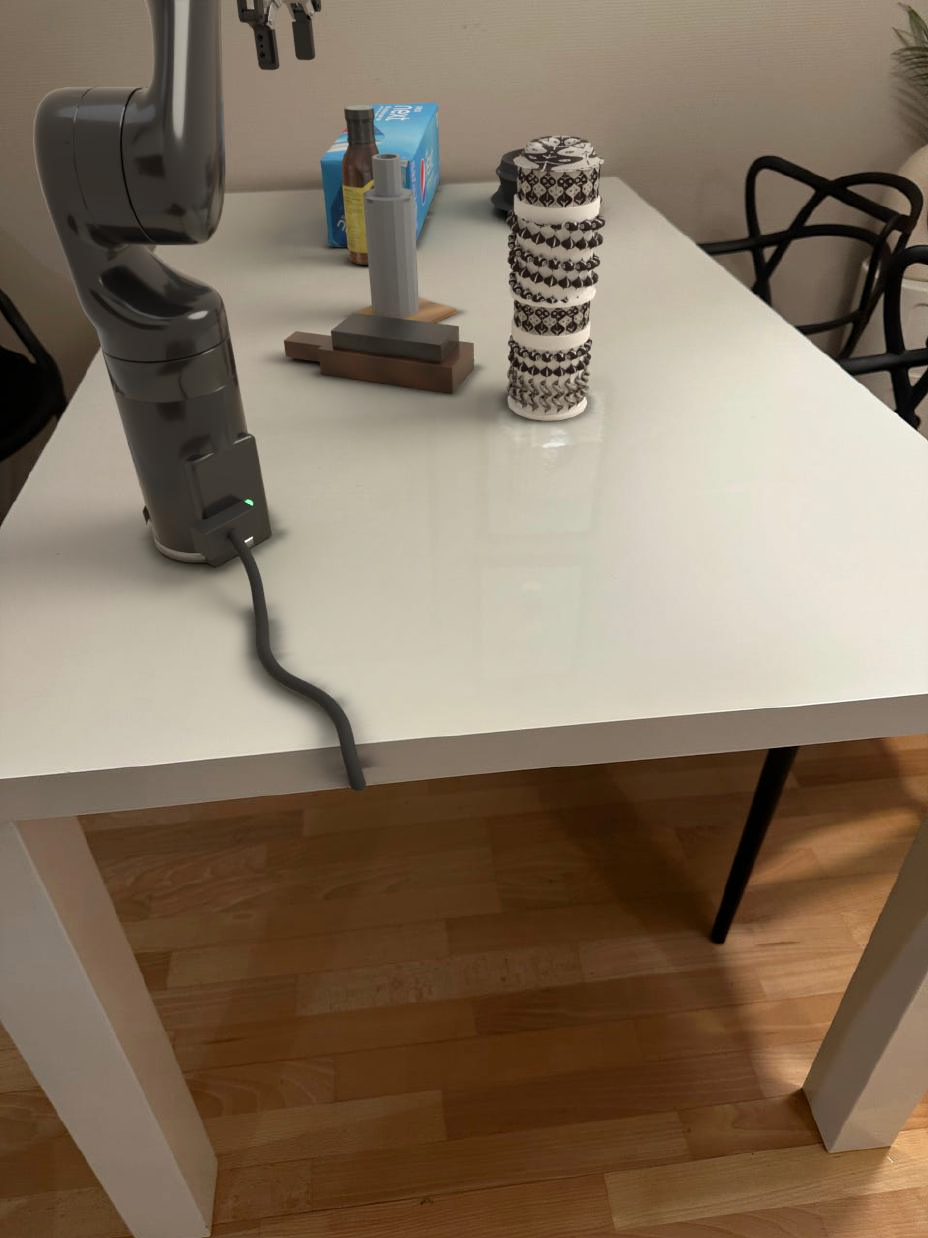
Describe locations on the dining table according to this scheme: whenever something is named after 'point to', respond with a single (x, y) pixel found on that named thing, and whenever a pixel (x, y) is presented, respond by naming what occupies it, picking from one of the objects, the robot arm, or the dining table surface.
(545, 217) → the decorative candle
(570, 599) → the dining table surface
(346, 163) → the sauce bottle
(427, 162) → the soda pack
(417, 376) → the scrub brush
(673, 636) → the dining table surface
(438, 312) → the cork mat
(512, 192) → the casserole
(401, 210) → the steel bottle
